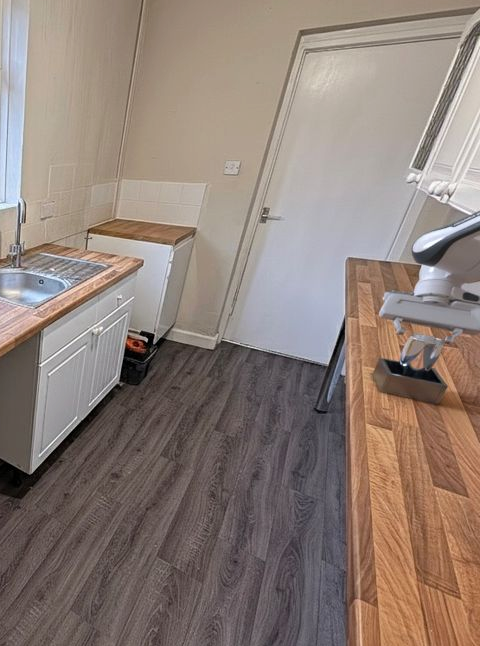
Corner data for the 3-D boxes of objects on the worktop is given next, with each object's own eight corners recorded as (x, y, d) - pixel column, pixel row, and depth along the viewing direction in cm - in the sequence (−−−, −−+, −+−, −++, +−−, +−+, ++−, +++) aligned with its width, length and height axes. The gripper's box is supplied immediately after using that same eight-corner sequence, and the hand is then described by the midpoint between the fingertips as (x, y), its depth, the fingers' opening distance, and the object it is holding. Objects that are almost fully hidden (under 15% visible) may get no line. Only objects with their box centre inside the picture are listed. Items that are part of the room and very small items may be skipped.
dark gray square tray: (425, 385, 119) (434, 368, 117) (438, 404, 110) (448, 386, 108) (372, 374, 125) (379, 357, 122) (379, 391, 116) (388, 373, 114)
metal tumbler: (382, 383, 118) (404, 336, 112) (393, 377, 121) (415, 331, 115) (415, 395, 113) (440, 346, 107) (425, 388, 116) (450, 341, 110)
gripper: (388, 283, 121) (376, 323, 118) (494, 299, 109) (483, 344, 106) (382, 294, 126) (370, 333, 123) (482, 310, 114) (471, 353, 111)
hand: (423, 338), depth 115 cm, fingers open, 8 cm apart
